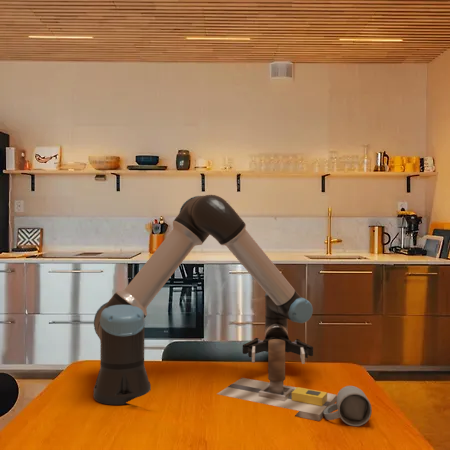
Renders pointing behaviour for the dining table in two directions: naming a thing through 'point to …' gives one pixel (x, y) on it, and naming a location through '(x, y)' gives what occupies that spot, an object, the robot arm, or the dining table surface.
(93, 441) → the dining table surface
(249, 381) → the subfloor panel
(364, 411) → the ceramic mug
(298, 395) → the block
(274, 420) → the dining table surface
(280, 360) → the brown tall rounded piece
